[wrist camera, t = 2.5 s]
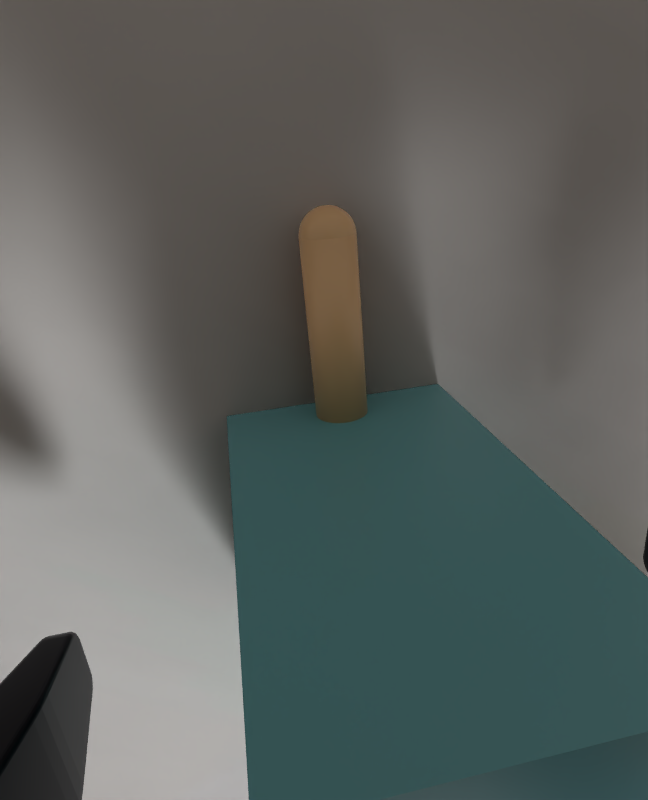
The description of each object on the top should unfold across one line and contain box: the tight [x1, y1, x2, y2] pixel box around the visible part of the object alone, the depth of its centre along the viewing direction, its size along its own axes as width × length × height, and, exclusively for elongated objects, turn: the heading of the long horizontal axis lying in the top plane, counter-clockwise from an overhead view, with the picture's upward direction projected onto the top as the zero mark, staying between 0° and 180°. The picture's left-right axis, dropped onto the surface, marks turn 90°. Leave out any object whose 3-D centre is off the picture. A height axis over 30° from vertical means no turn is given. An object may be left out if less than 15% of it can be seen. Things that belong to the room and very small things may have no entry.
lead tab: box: [227, 205, 648, 800], centre depth 7 cm, size 4×8×7 cm, turn 5°
